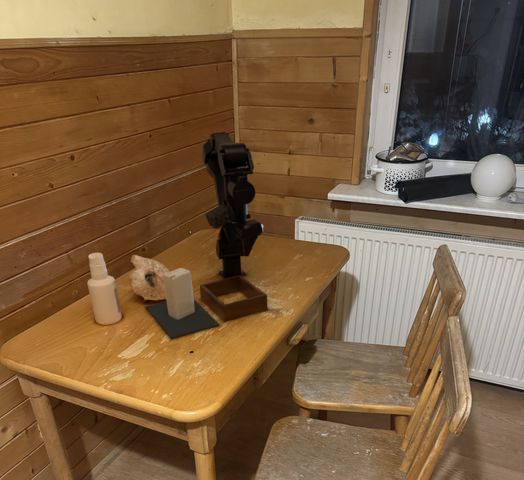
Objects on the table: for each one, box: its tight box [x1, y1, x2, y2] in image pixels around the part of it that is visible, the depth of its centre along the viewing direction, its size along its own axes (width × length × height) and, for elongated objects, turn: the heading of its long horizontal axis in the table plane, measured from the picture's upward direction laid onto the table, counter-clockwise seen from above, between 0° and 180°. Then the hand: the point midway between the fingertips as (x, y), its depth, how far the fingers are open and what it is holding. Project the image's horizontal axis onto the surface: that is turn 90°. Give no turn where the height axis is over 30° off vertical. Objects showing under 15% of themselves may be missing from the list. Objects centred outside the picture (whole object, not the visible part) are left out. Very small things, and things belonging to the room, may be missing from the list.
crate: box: [199, 275, 269, 323], centre depth 139 cm, size 16×13×4 cm
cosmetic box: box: [163, 267, 195, 320], centre depth 131 cm, size 6×4×12 cm
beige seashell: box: [128, 254, 171, 303], centre depth 148 cm, size 18×14×8 cm
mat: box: [145, 299, 220, 340], centre depth 135 cm, size 20×13×1 cm, turn 29°
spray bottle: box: [86, 252, 123, 326], centre depth 130 cm, size 7×7×18 cm
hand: (239, 251), depth 141 cm, fingers open, 9 cm apart
